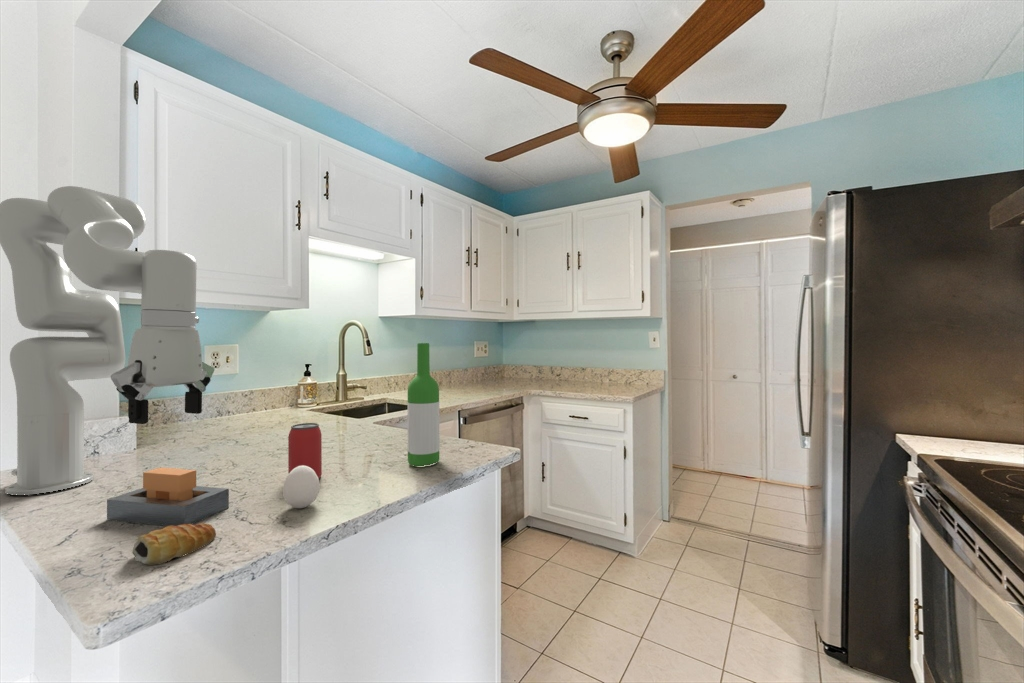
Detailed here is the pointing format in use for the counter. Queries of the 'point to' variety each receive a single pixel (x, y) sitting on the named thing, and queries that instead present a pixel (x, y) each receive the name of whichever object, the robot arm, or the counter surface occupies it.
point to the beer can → (305, 447)
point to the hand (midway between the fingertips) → (167, 417)
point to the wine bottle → (423, 413)
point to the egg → (301, 487)
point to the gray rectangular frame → (167, 507)
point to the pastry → (172, 542)
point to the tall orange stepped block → (169, 483)
